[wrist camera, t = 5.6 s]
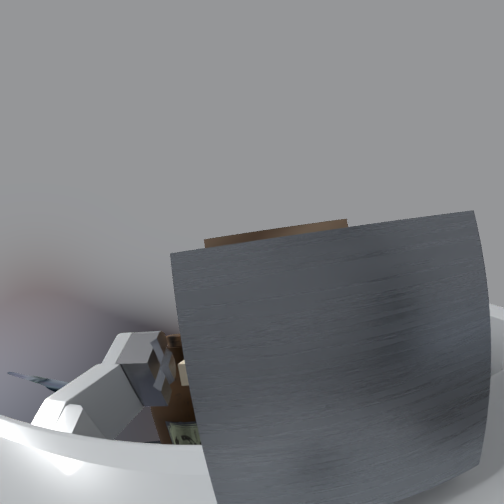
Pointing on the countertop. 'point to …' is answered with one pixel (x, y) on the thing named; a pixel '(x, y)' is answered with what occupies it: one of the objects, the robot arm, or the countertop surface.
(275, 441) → the grey long square bar
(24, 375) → the countertop surface
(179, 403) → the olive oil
